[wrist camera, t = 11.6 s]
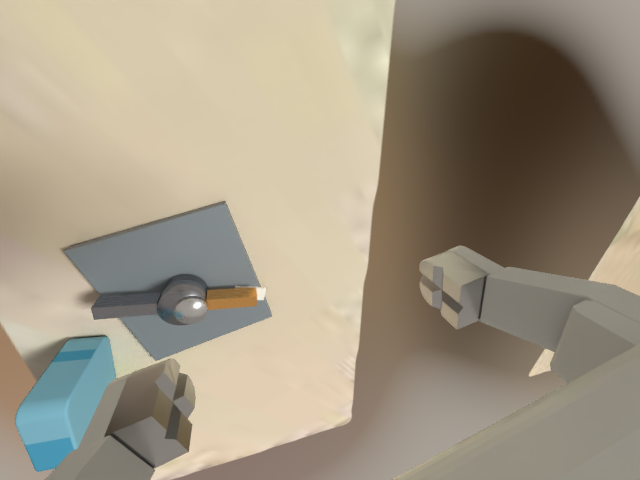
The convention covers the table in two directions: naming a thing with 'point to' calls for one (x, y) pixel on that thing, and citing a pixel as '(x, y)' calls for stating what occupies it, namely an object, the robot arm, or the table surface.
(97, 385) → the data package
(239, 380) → the table surface
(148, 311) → the bar with grey ball
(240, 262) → the stand
